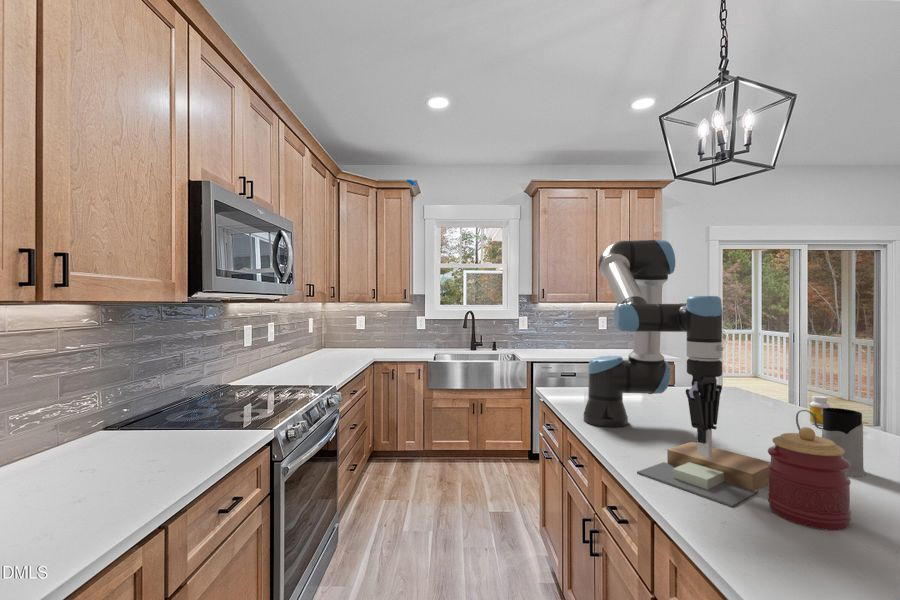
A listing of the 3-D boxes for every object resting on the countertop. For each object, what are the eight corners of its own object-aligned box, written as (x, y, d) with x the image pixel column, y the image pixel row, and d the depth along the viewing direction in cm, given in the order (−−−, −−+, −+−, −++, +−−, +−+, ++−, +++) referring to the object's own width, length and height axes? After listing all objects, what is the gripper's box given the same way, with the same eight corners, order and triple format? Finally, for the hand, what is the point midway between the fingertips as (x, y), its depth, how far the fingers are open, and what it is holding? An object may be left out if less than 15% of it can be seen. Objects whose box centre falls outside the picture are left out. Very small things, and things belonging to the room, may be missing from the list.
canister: (827, 538, 80) (826, 440, 80) (753, 507, 92) (753, 423, 92) (865, 523, 85) (865, 432, 85) (791, 496, 97) (790, 416, 97)
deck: (667, 464, 116) (667, 449, 116) (691, 455, 122) (691, 441, 122) (752, 491, 99) (752, 474, 99) (775, 480, 106) (775, 463, 106)
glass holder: (859, 479, 106) (858, 417, 106) (789, 461, 118) (789, 405, 118) (871, 471, 111) (870, 412, 111) (803, 455, 123) (802, 401, 123)
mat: (636, 473, 110) (636, 471, 110) (663, 463, 117) (663, 462, 117) (732, 507, 92) (732, 505, 92) (757, 493, 98) (757, 491, 98)
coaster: (672, 477, 106) (672, 468, 106) (690, 470, 111) (690, 461, 111) (707, 489, 100) (707, 479, 100) (724, 481, 104) (724, 472, 104)
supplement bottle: (806, 421, 157) (806, 394, 157) (822, 422, 157) (822, 395, 157) (816, 426, 152) (816, 398, 152) (833, 426, 151) (833, 398, 151)
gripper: (706, 362, 100) (706, 465, 100) (733, 358, 108) (734, 454, 107) (674, 359, 107) (674, 456, 107) (702, 355, 114) (702, 446, 114)
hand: (704, 455), depth 107 cm, fingers closed
